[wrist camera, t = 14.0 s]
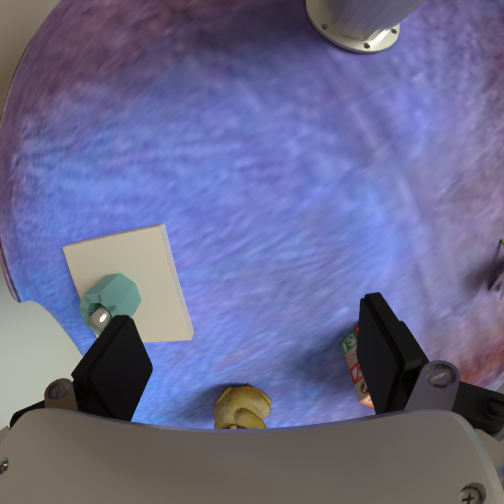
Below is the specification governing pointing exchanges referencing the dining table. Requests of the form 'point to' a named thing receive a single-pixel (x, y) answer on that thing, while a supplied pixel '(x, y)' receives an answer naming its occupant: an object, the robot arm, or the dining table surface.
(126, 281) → the bead
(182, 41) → the dining table surface
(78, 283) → the board
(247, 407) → the decorative figurine
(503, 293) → the water lily
